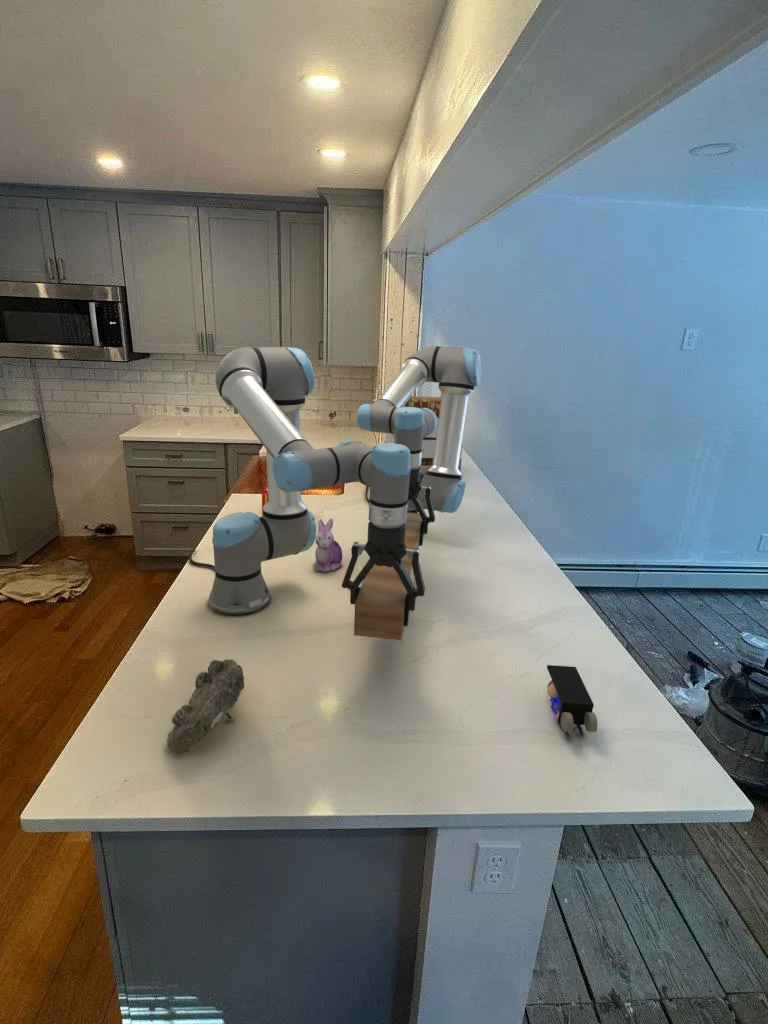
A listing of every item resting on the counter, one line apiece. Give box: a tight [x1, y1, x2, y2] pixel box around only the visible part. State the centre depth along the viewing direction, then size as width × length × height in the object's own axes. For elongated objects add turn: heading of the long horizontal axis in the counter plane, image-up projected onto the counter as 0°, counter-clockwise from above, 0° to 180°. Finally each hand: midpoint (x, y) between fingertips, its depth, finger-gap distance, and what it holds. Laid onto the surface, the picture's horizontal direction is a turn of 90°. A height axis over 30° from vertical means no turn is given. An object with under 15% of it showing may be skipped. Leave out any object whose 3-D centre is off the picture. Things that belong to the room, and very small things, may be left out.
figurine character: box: [546, 664, 598, 737], centre depth 111 cm, size 7×8×15 cm
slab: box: [353, 512, 423, 642], centre depth 139 cm, size 55×10×7 cm, turn 172°
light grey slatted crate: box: [383, 391, 465, 472], centre depth 268 cm, size 34×33×41 cm
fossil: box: [166, 658, 245, 754], centre depth 106 cm, size 22×10×15 cm
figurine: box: [314, 517, 343, 572], centre depth 170 cm, size 9×10×15 cm
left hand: (381, 619), depth 120 cm, fingers closed on slab, 10 cm apart
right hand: (402, 542), depth 160 cm, fingers closed on slab, 10 cm apart
